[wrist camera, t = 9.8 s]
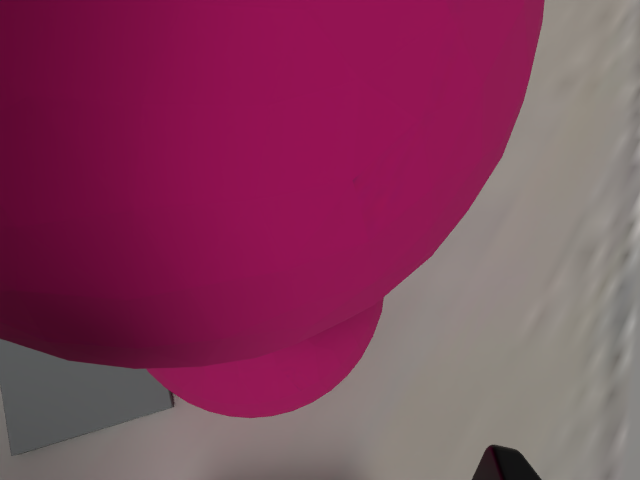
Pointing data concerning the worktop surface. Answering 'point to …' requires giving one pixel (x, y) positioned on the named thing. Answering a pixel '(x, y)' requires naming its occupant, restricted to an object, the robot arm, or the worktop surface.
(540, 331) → the worktop surface
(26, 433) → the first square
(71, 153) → the pepper mill
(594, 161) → the worktop surface
